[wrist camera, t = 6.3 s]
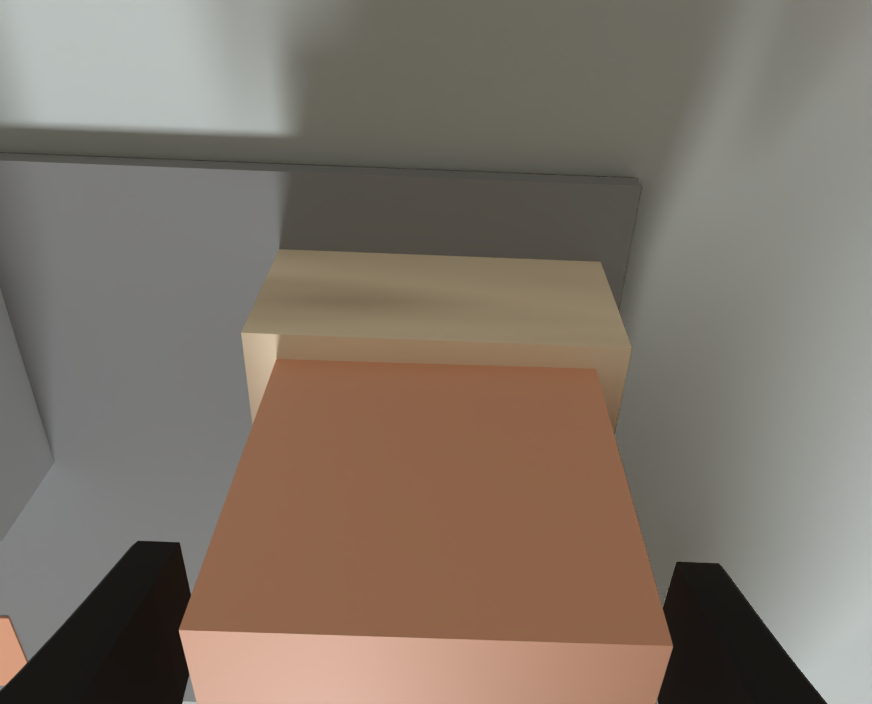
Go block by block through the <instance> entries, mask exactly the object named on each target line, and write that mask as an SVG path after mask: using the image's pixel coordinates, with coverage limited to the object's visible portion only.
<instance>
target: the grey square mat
mask: <svg viewBox="0 0 872 704" xmlns="http://www.w3.org/2000/svg"><path fill="white" fill-rule="evenodd" d="M641 188H642V185H641V184H640V182H639V180H638V178H622V177H597V176H572V175H546V174H521V173H496V172H471V171H446V170H421V169H396V168H370V167H345V166H320V165H295V164H270V163H245V162H219V161H194V160H169V159H144V158H119V157H94V156H68V155H43V154H18V153H0V289H1V293H2V296H3V299H4V302H5V305H6V309H7V312H8V315H9V318H10V321H11V325H12V328H13V331H14V334H15V337H16V341H17V344H18V347H19V350H20V353H21V357H22V360H23V363H24V366H25V369H26V373H27V376H28V379H29V382H30V385H31V389H32V392H33V395H34V398H35V401H36V405H37V408H38V411H39V414H40V417H41V421H42V424H43V427H44V430H45V433H46V437H47V440H48V443H49V446H50V449H51V453H52V456H53V459H54V464H53V465H52V467H51V468H50V470H49V471H48V473H47V474H46V476H45V477H44V479H43V480H42V482H41V483H40V485H39V486H38V488H37V489H36V491H35V492H34V494H33V495H32V497H31V498H30V500H29V501H28V503H27V504H26V506H25V507H24V509H23V510H22V512H21V513H20V515H19V516H18V518H17V519H16V521H15V522H14V524H13V525H12V527H11V528H10V530H9V531H8V533H7V534H6V536H5V537H4V539H3V540H2V542H1V543H0V690H1V689H2V688H3V687H4V686H5V685H6V684H7V683H8V682H9V681H10V680H11V679H12V678H13V677H14V676H15V675H16V674H17V673H18V672H19V671H20V670H21V669H22V668H23V667H24V666H25V664H26V663H27V662H28V661H29V660H30V659H31V658H32V657H33V656H34V655H35V654H36V653H37V652H38V651H39V649H40V648H41V647H42V646H43V645H44V644H45V643H46V642H47V641H48V640H49V639H50V638H51V637H52V635H53V634H54V633H55V632H56V631H57V630H58V629H59V628H60V627H61V626H62V625H63V624H64V623H65V621H66V620H67V619H68V618H69V617H70V616H71V615H72V614H73V612H74V611H75V610H76V609H77V608H78V607H79V606H80V605H81V603H82V602H83V601H84V600H85V599H86V598H87V597H88V596H89V594H90V593H91V592H92V591H93V590H94V589H95V588H96V586H97V585H98V584H99V583H100V582H101V581H102V580H103V578H104V577H105V576H106V575H107V574H108V573H109V571H110V570H111V569H112V568H113V567H114V566H115V565H116V563H117V562H118V561H119V560H120V559H121V558H122V556H123V555H124V554H125V553H126V552H127V551H128V549H129V548H130V547H131V546H132V545H133V544H135V543H136V542H137V541H160V542H180V546H181V550H182V555H183V560H184V564H185V569H186V574H187V579H188V583H189V588H190V593H191V594H192V592H193V589H194V586H195V583H196V581H197V578H198V575H199V572H200V569H201V567H202V564H203V561H204V558H205V556H206V553H207V550H208V547H209V544H210V542H211V539H212V536H213V533H214V531H215V528H216V525H217V522H218V519H219V517H220V514H221V511H222V508H223V506H224V503H225V500H226V497H227V494H228V492H229V489H230V486H231V483H232V481H233V478H234V475H235V472H236V469H237V467H238V464H239V461H240V458H241V456H242V453H243V450H244V447H245V444H246V442H247V439H248V436H249V433H250V431H251V428H252V417H251V409H250V401H249V393H248V385H247V377H246V369H245V361H244V353H243V345H242V337H241V332H242V330H243V327H244V325H245V323H246V321H247V319H248V316H249V314H250V312H251V310H252V308H253V305H254V303H255V301H256V299H257V297H258V294H259V292H260V290H261V288H262V286H263V283H264V281H265V279H266V277H267V275H268V272H269V270H270V268H271V266H272V264H273V261H274V259H275V257H276V255H277V253H278V250H279V249H288V250H313V251H338V252H364V253H389V254H415V255H440V256H466V257H491V258H517V259H542V260H568V261H593V262H601V264H602V267H603V270H604V272H605V275H606V278H607V281H608V283H609V286H610V289H611V291H612V294H613V297H614V300H615V302H616V305H617V308H618V311H619V305H620V300H621V295H622V289H623V284H624V279H625V273H626V268H627V263H628V257H629V252H630V247H631V241H632V236H633V231H634V225H635V220H636V215H637V210H638V204H639V199H640V194H641ZM183 701H193V702H196V698H195V694H194V690H193V686H192V682H191V678H190V674H189V678H188V682H187V686H186V690H185V694H184V698H183Z"/></svg>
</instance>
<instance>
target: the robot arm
mask: <svg viewBox="0 0 872 704" xmlns="http://www.w3.org/2000/svg"><path fill="white" fill-rule="evenodd" d="M190 597H191V593H190V588H189V583H188V579H187V574H186V569H185V564H184V560H183V555H182V550H181V546H180V542H160V541H137V542H136V543H135V544H133V545H132V546H131V547H130V548H129V549H128V551H127V552H126V553H125V554H124V555H123V556H122V558H121V559H120V560H119V561H118V562H117V563H116V565H115V566H114V567H113V568H112V569H111V570H110V571H109V573H108V574H107V575H106V576H105V577H104V578H103V580H102V581H101V582H100V583H99V584H98V585H97V586H96V588H95V589H94V590H93V591H92V592H91V593H90V594H89V596H88V597H87V598H86V599H85V600H84V601H83V602H82V603H81V605H80V606H79V607H78V608H77V609H76V610H75V611H74V612H73V614H72V615H71V616H70V617H69V618H68V619H67V620H66V621H65V623H64V624H63V625H62V626H61V627H60V628H59V629H58V630H57V631H56V632H55V633H54V634H53V635H52V637H51V638H50V639H49V640H48V641H47V642H46V643H45V644H44V645H43V646H42V647H41V648H40V649H39V651H38V652H37V653H36V654H35V655H34V656H33V657H32V658H31V659H30V660H29V661H28V662H27V663H26V664H25V666H24V667H23V668H22V669H21V670H20V671H19V672H18V673H17V674H16V675H15V676H14V677H13V678H12V679H11V680H10V681H9V682H8V683H7V684H6V685H5V686H4V687H3V688H2V689H1V690H0V704H182V702H183V698H184V694H185V690H186V686H187V682H188V678H189V670H188V666H187V662H186V658H185V654H184V650H183V646H182V642H181V638H180V634H179V628H180V625H181V622H182V619H183V617H184V614H185V611H186V608H187V606H188V603H189V600H190ZM663 611H664V615H665V619H666V622H667V626H668V629H669V633H670V636H671V640H672V644H673V649H672V652H671V655H670V658H669V662H668V665H667V668H666V672H665V675H664V678H663V681H662V685H661V688H660V691H659V695H658V704H827V703H826V701H825V700H824V699H823V698H822V697H821V695H820V694H819V693H818V692H817V690H816V689H815V688H814V687H813V685H812V684H811V683H810V682H809V681H808V679H807V678H806V677H805V676H804V674H803V673H802V672H801V671H800V669H799V668H798V667H797V666H796V664H795V663H794V662H793V660H792V659H791V658H790V657H789V655H788V654H787V653H786V651H785V650H784V649H783V647H782V646H781V645H780V644H779V642H778V641H777V640H776V638H775V637H774V636H773V634H772V633H771V632H770V630H769V629H768V628H767V626H766V625H765V624H764V622H763V621H762V620H761V618H760V617H759V616H758V614H757V613H756V612H755V610H754V609H753V608H752V606H751V605H750V604H749V602H748V601H747V600H746V598H745V597H744V595H743V594H742V593H741V591H740V590H739V589H738V587H737V586H736V585H735V583H734V582H733V581H732V579H731V578H730V576H729V575H728V574H727V572H726V571H725V570H724V569H723V567H722V566H721V565H720V564H718V563H693V562H677V563H676V566H675V570H674V573H673V576H672V580H671V583H670V586H669V590H668V593H667V596H666V600H665V603H664V607H663Z"/></svg>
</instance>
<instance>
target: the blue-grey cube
mask: <svg viewBox="0 0 872 704" xmlns="http://www.w3.org/2000/svg"><path fill="white" fill-rule="evenodd" d="M53 464H54V459H53V456H52V453H51V449H50V446H49V443H48V440H47V437H46V433H45V430H44V427H43V424H42V421H41V417H40V414H39V411H38V408H37V405H36V401H35V398H34V395H33V392H32V389H31V385H30V382H29V379H28V376H27V373H26V369H25V366H24V363H23V360H22V357H21V353H20V350H19V347H18V344H17V341H16V337H15V334H14V331H13V328H12V325H11V321H10V318H9V315H8V312H7V309H6V305H5V302H4V299H3V296H2V293H1V289H0V543H1V542H2V540H3V539H4V537H5V536H6V534H7V533H8V531H9V530H10V528H11V527H12V525H13V524H14V522H15V521H16V519H17V518H18V516H19V515H20V513H21V512H22V510H23V509H24V507H25V506H26V504H27V503H28V501H29V500H30V498H31V497H32V495H33V494H34V492H35V491H36V489H37V488H38V486H39V485H40V483H41V482H42V480H43V479H44V477H45V476H46V474H47V473H48V471H49V470H50V468H51V467H52V465H53Z"/></svg>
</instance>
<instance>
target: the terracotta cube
mask: <svg viewBox="0 0 872 704" xmlns="http://www.w3.org/2000/svg"><path fill="white" fill-rule="evenodd" d="M179 634H180V638H181V642H182V646H183V650H184V654H185V658H186V662H187V666H188V670H189V674H190V678H191V682H192V686H193V690H194V694H195V698H196V702H197V704H656V701H657V698H658V695H659V691H660V688H661V685H662V681H663V678H664V675H665V672H666V668H667V665H668V662H669V658H670V655H671V652H672V649H673V644H672V640H671V636H670V633H669V629H668V626H667V622H666V619H665V615H664V611H663V608H662V604H661V601H660V597H659V593H658V590H657V586H656V583H655V579H654V576H653V572H652V568H651V565H650V561H649V558H648V554H647V550H646V547H645V543H644V540H643V536H642V532H641V529H640V525H639V522H638V518H637V515H636V511H635V507H634V504H633V500H632V497H631V493H630V489H629V486H628V482H627V479H626V475H625V471H624V468H623V464H622V461H621V457H620V454H619V450H618V446H617V443H616V439H615V436H614V432H613V428H612V425H611V421H610V418H609V414H608V410H607V407H606V403H605V400H604V396H603V393H602V389H601V385H600V382H599V378H598V375H597V371H596V369H584V368H551V367H518V366H486V365H453V364H420V363H388V362H355V361H322V360H290V359H276V361H275V364H274V367H273V370H272V372H271V375H270V378H269V381H268V383H267V386H266V389H265V392H264V395H263V397H262V400H261V403H260V406H259V408H258V411H257V414H256V417H255V420H254V422H253V425H252V428H251V431H250V433H249V436H248V439H247V442H246V444H245V447H244V450H243V453H242V456H241V458H240V461H239V464H238V467H237V469H236V472H235V475H234V478H233V481H232V483H231V486H230V489H229V492H228V494H227V497H226V500H225V503H224V506H223V508H222V511H221V514H220V517H219V519H218V522H217V525H216V528H215V531H214V533H213V536H212V539H211V542H210V544H209V547H208V550H207V553H206V556H205V558H204V561H203V564H202V567H201V569H200V572H199V575H198V578H197V581H196V583H195V586H194V589H193V592H192V594H191V597H190V600H189V603H188V606H187V608H186V611H185V614H184V617H183V619H182V622H181V625H180V628H179Z"/></svg>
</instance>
